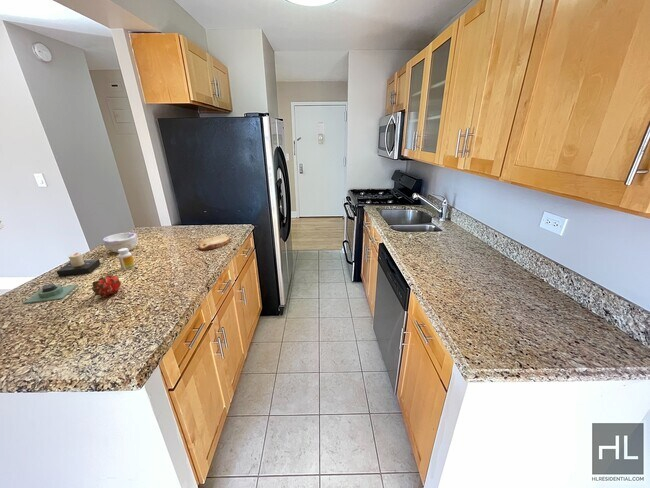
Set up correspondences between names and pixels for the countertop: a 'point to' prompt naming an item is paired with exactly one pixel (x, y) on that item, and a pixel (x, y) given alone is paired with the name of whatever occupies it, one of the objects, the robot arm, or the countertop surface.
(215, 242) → the bread slice
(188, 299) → the countertop surface
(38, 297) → the button box
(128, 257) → the supplement bottle
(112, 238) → the paper bowls
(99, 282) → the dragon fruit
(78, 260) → the knob
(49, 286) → the button
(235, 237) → the countertop surface
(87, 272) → the panel
